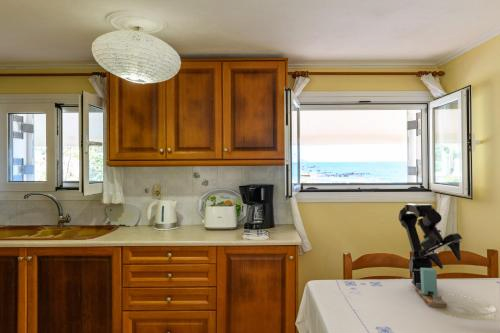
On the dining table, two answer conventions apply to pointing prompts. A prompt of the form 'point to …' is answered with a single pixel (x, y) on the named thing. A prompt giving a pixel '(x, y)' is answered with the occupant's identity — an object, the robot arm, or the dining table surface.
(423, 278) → the teal rectangular block
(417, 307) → the dining table surface
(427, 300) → the cord board
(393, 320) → the dining table surface
